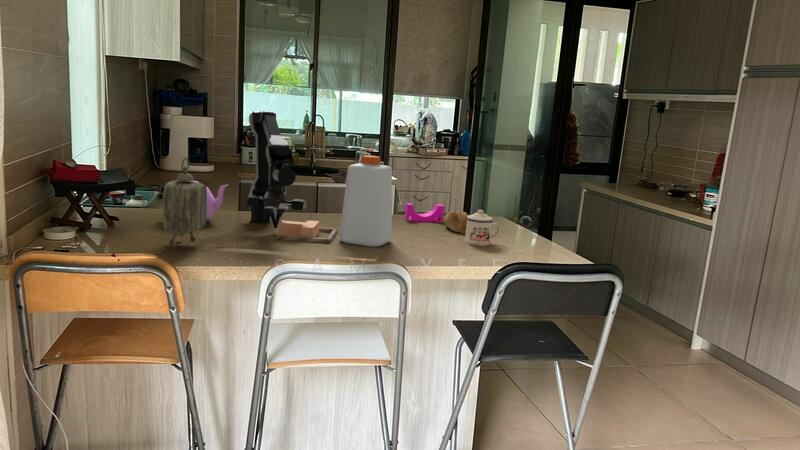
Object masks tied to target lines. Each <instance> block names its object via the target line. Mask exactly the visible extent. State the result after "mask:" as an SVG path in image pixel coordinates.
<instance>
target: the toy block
mask: <svg viewBox="0 0 800 450" xmlns="http://www.w3.org/2000/svg"><path fill="white" fill-rule="evenodd" d="M404 209H405V210H404V220H405V221H406V220H411V221H410V222H420V221H422V223H423V222H425V223H426V222H427V223H444V218H445V217H444V216H445V205H443V204H435V205H434V208H433V209H432V210H429V211H428V212H426V213H417V212H416V211H415V209H414V205H413V204H412V203H410V202H405V208H404ZM436 219H437V220H436Z"/></svg>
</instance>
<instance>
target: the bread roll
mask: <svg viewBox="0 0 800 450" xmlns="http://www.w3.org/2000/svg"><path fill="white" fill-rule="evenodd" d="M469 215H470V214H468V213H467V212H465V211H462V210H455V209H454V210H449V211H448V212H447V213H446V215H444V216H445V217H444V218H443V223H444V224H445V226H446V227H447V228H449V230H450V231H452V232H455V233H457V232H460V233H459V234H466V226H467V216H469Z"/></svg>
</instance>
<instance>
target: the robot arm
mask: <svg viewBox="0 0 800 450" xmlns="http://www.w3.org/2000/svg"><path fill="white" fill-rule="evenodd" d="M248 122H249V125H250V131H251V133H252V134H253V136H254V137H255V179H254V180H253V182H252V183H251V188H250V189H249V194H248V197H247V198H246V204H245V205H246V206H247V207H251V209H250V210H251V211H250V220H249V223H254V224H255V223H256V224H269V223H270V222H271V223H272V226H273V228H274V229H278V228H279V222H281V221H282V220H281V219H282V217H283V215H284V214H285V212H288V210H289V209H290V208H291V209H292V210H296V211H304V210H305V209H306V208H307V201H306V199H300V198H294V199H292V200H288V199H287V198H288V197H287V187H289V186H291V185H293V184H294V183H295V181H296V173H295V171H294V169H292V168H291V167H293V166H294V165H295V164H294V163H295V157H294V154H293V150H292V147H290V145H289V142H288V141H287V140H286V139H285V138H284V137H282V133H281V130H280V128H279V124H278V121H277V113H276V111H273V110H262V111H256V110H254V111H252V112H251V113H250V114H249V115H248Z"/></svg>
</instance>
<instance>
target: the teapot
mask: <svg viewBox="0 0 800 450" xmlns="http://www.w3.org/2000/svg"><path fill="white" fill-rule="evenodd" d="M191 182H199V181H198V180H194V181H191ZM228 186H229V184H223V185H220V187H219V188H218V191H217V197H216V198H215V197H214V195H213V194H212V191H211V190H210V188H209V187H208V186H206V188H207V213H206V221H207V220H210V218H212V217H213V216H214V215H215V213H216V212H217V210H218V209H219V208H220V207H221V206H222V203H223V201H224V191H225V189H226V188H227V187H228Z"/></svg>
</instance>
